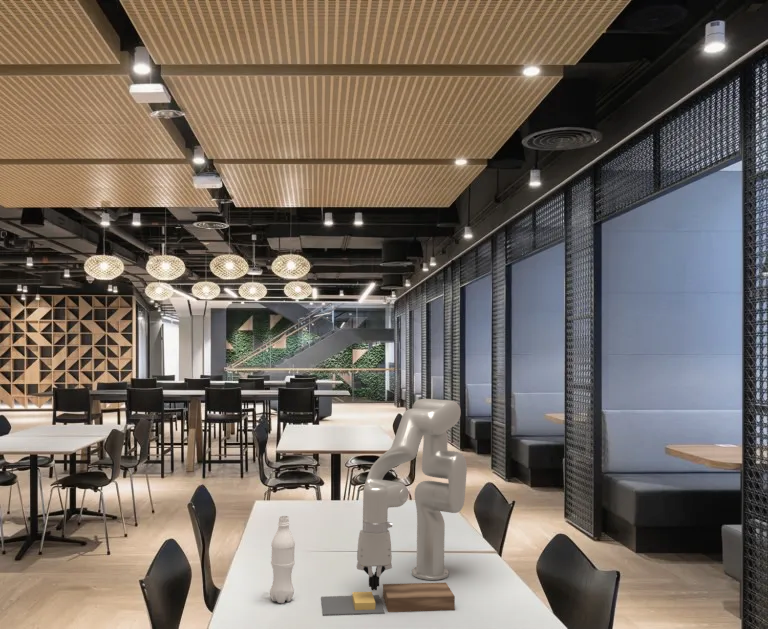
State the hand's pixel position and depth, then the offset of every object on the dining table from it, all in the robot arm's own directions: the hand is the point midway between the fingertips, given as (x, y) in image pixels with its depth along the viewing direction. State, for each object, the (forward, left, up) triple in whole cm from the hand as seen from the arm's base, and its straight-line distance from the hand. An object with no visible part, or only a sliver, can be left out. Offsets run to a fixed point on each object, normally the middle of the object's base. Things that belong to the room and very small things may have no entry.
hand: (373, 588), depth 199 cm
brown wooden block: (0, +14, -5) cm, 14 cm away
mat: (0, -6, -5) cm, 8 cm away
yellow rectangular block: (0, -3, -2) cm, 4 cm away
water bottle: (-6, -27, -5) cm, 29 cm away
